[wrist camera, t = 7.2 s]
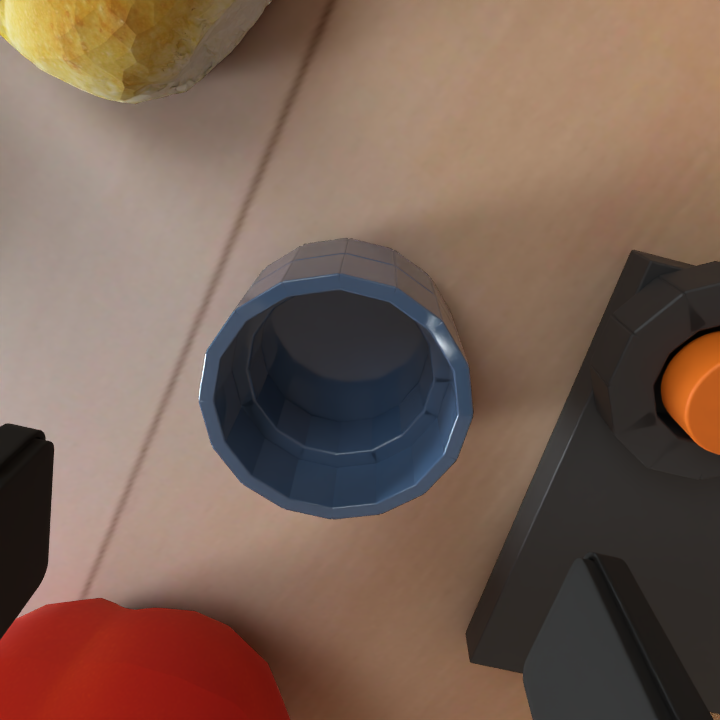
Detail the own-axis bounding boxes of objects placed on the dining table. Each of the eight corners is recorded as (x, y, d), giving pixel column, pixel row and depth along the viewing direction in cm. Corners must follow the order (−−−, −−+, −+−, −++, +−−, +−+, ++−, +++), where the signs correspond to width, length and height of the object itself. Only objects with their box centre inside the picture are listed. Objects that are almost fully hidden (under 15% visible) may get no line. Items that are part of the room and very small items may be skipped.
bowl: (259, 210, 17) (221, 244, 13) (480, 266, 18) (510, 315, 14) (224, 409, 20) (184, 487, 16) (418, 453, 21) (428, 541, 16)
